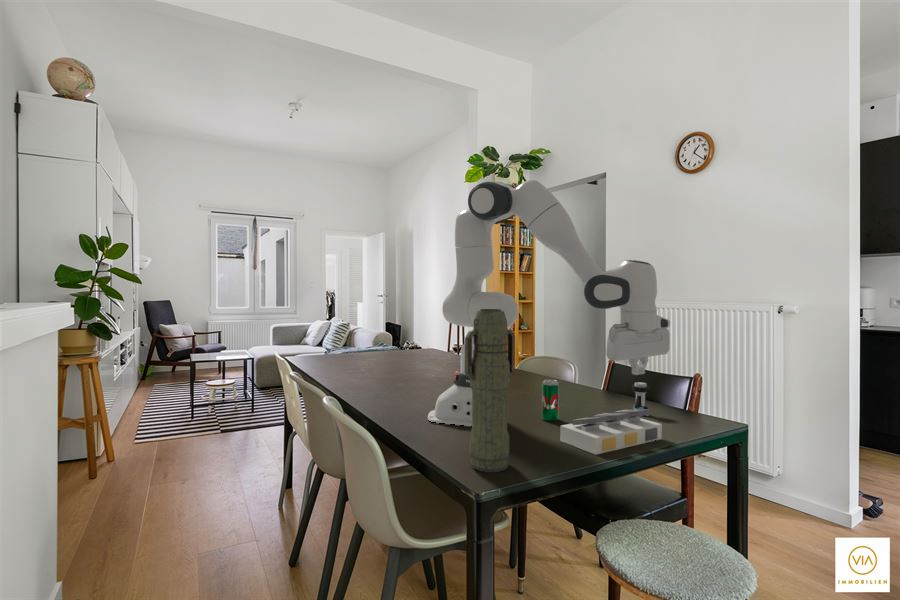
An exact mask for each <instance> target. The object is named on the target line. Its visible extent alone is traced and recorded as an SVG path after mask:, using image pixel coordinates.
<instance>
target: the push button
mask: <svg viewBox="0 0 900 600" xmlns="http://www.w3.org/2000/svg"><path fill="white" fill-rule="evenodd" d="M631 388H632V391H633V392H634V393H635V403H634V404H633V409H632V410H641V409H649V407H647V406H646V394H647V393H649V390H650V385H647V383H646V382H641V381H640V382H638V381H637V382H634V384H632V385H631ZM649 416H650V414H647V415H642V416H641V417H649Z"/></svg>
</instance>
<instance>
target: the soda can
mask: <svg viewBox="0 0 900 600" xmlns="http://www.w3.org/2000/svg"><path fill="white" fill-rule="evenodd" d="M559 387H560V384H559V382H558V380H556V379H548V378H547V379H543V381H542V383H541V418H542V420H543V421H545V422H551V421H553V422H556V421H558V420H559V417H560V416H559V415H560V414H559V407H560V406H559V405H560V399H559V398H560V393H559V392H560V388H559Z"/></svg>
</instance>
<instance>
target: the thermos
mask: <svg viewBox="0 0 900 600" xmlns="http://www.w3.org/2000/svg"><path fill="white" fill-rule="evenodd" d="M515 336H516V335H515V334H514V332H513V330H512V329H510V328H508V329H507V320H506V317H505V313H504V311H501V309H480V311H477V313H476V316H475V319H474V327H473V329H472V330H470V331H468V332H467V334H466V335H465V337H464V344H465V374H466V375H467V376H468V377H469V378H470V387H471V389H472V427H471V430H470V434H469V441H468V442H469V443H468V444H469V446H468V447H469V451H468V452H469V466H470V465H471V466H470V467H471V469H473V468H474V470H475V469H477V470H476V471H478V470H479V471H478V472H483V471H484V473H498V472H502V471H505V470H507V469H508V468H509V456H510V434H509V432H508V391H509V389H510V383H511V382H510V381H511V380H510V378H512V376H514V375H515V366H516V365H515V364H516V363H515V362H516V361H515V359H516V357H515V356H516V355H515V354H516V352H515V350H516V349H515V347H516V345H515V344H516V343H515V342H516V337H515ZM472 337H473V344H474V350H473V358H472Z"/></svg>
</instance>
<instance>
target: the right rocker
mask: <svg viewBox="0 0 900 600" xmlns="http://www.w3.org/2000/svg"><path fill="white" fill-rule="evenodd" d="M613 413H630V416H640V417H643V416H642V415H647V414H648V415H651V414H652V412H651V409H649V408H648V409H641V410H633V409H623V410H617V411H613Z"/></svg>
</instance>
